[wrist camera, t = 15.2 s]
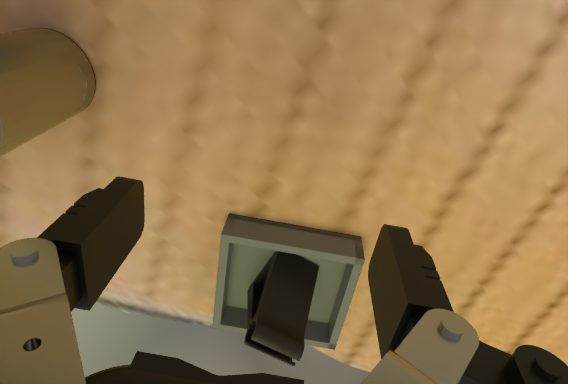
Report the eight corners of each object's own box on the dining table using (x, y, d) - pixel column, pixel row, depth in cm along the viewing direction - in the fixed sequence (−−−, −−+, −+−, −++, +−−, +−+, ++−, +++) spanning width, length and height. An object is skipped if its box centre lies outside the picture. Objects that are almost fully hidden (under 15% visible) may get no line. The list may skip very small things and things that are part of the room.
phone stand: (284, 306, 55) (276, 384, 44) (247, 288, 53) (230, 364, 43) (319, 265, 50) (319, 340, 40) (279, 244, 49) (269, 316, 39)
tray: (219, 303, 57) (212, 328, 53) (229, 213, 49) (221, 234, 45) (333, 323, 57) (334, 349, 53) (361, 236, 49) (364, 259, 45)
